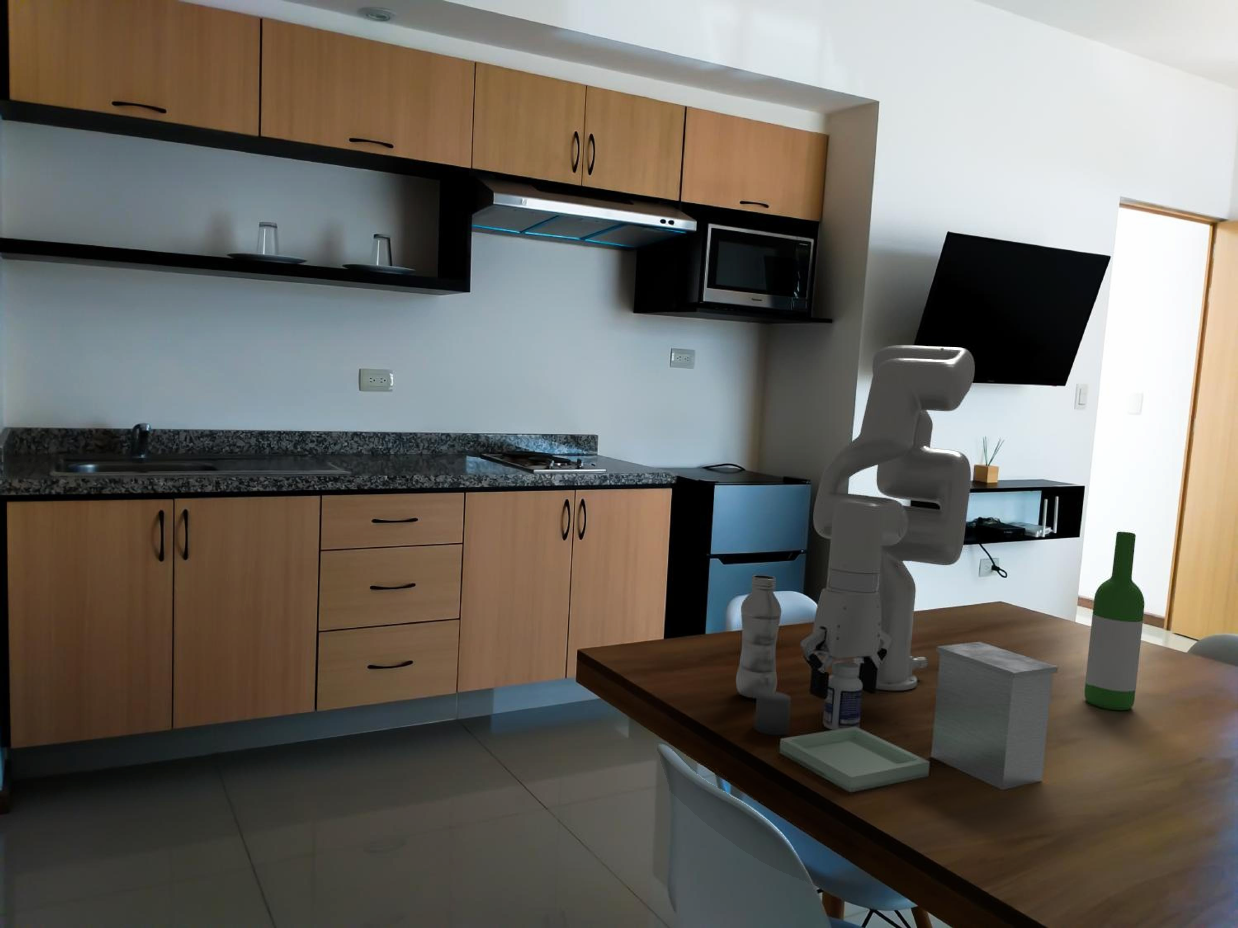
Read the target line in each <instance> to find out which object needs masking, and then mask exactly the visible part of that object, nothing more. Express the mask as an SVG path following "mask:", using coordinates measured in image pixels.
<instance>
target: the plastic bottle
mask: <svg viewBox="0 0 1238 928" xmlns="http://www.w3.org/2000/svg"><path fill="white" fill-rule="evenodd" d="M750 588H751V589H752V590H751V591H750V592H749V593H748V595H746V597H745V598H744V599H743V601H742V602H741V606H740V616H741V626H742V627H741V628H742V629H741V630H742V632H741V633H742V634H741V636H742V638H741V639H742V640H741V652H740V659H739V666H738V669H737V673H736V677H735V683H736V689H737V691H738V693H739V694H740V695H741V696H743V697H746V698H749V699H750V698H751V699H755V700H757V694H758V693H760V692H764V691H773V692H777V690H776V689H777V687H778V678H777V677H778V676H777V670H776V649H777V648H776V647H777V644H776V643H777V638H778V632H779V627H780V621H781V617H782V607H781V603H780V601H779V599H778V598H777V596H776V595H775V592H774V591H775V590H776V577H775V576H773V575H772V576H771V575H765V574H754V575H752V578H751V584H750Z"/></svg>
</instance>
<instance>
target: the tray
mask: <svg viewBox="0 0 1238 928" xmlns="http://www.w3.org/2000/svg"><path fill="white" fill-rule="evenodd" d="M779 754H781V755H783V756H784V757H787V758H788V759H790V760H791V761H793V762H795V763H797V764H799V765H801V766H802V767H804V768H806V769H807V770H809V771H811V772H813V773H814V774H816V775H818V776H820V777H822V778H824V779H825V780H827V781H829V782H831V783H833V784H834V785H835V786H837V787H839V788H841V789H843V790H845V791H847V792H849V793H855V792H859V791H865V790H870V789H875V788H877V787H883V786H889V785H892V784H893V785H894V784H898V783H903V782H907V781H908V782H909V781H911V780H918V779H921V778H922V779H923V778H926V777H929V772H930V763H931V761H929V760H927V759H925V758H923V757H921V756H918V755H917V754H914V753H912V752H910V751H908V750H906V749H903V748H902V747H900V746H897V745H895V744H893V743H890V742H889V741H887V740H885V739H884V738H883V739H882V738H880V737H878V736H876V735H874V734H872V733H870V732H868V731H866V730H863V728H862V729H861V728H860V727H859V728H857V727H850V728H844V729H838V730H826V731H821V732H814V733H808V734H802V735H797V736H790V737H784V738H780V742H779Z"/></svg>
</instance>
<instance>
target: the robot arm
mask: <svg viewBox="0 0 1238 928" xmlns="http://www.w3.org/2000/svg"><path fill="white" fill-rule="evenodd" d="M974 360H975V359H974V356H973V355H972V353H971V352H970V351H969V350H968V349H967V348H965V347H964V348H963V347H955V346H953V347H952V346H934V345H933V346H932V345H931V346H930V345H928V346H926V345H909V344H908V345H905V344H903V345H890V346H885V347H883V348H880V349H879V350H878V351H876V352H875V354H874V356H873V360H872V364H871V365H872V377H871V382H870V387H869V392H868V396H867V400H866V405H865V410H864V414H863V418H862V422H861V427H860V432H859V435H858V436H857V437H856V438H854V439H852V440H851V441H850V442H848V444H846V445H845V446H844V447H842V449H840V450H839V451H838V452H837V453H836V454H835V456H833V458H831V460H830V461H829V463H828V464H827V465H826V467H825V469H824V470H823V472H822V476H821V479H820V481H819V486H818V490H817V494H816V499H815V503H814V508H813V513H812V514H813V519H812V521H813V527H814V530H815V531H816V533H817V534H818V535H819V536H820V537H823V538H825V539H827V540H829V539H830V545H829V556H828V558H829V559H828V566H827V567H828V568H827V580H826V587H825V588H822V589H821V591H820V595H819V599H818V601H817V606H816V610H815V615H814V621H813V627H812V634H810V635H808V636H807V637H805V638H804V639H803V640H801V641H800V648H801V650H802V654H803V659H804V660H805V661H806V663H807V666H808V668H809V669H811V674H810V683H809V693H810V695H812V696H813V697H816V698H818V699H821V700H825V699H826V698H827V695H828V683H829V676H830V672H828V671H827V670H828V668H829V667H830V666H831V665H832V664H833V662H834V660H844V659H853V663H856V664H858V665H859V675H858V676H857V678H858V679H860V680H861V682H862V685H863V686H862V692H866V693H867V694H870V695H874V694H876V692H877V690H882V691H907V690H910V689H915V687H916V686H917V684H918V679H917V677H916V675H914V674H913V671H915V670H916V669H922V668H926V667H927V666H928V660H927V658H926V657H924V656H918V657H914V656H912V655H911V647H912V639H913V638H912V636H913V627H914V614H915V613H914V612H915V603H916V602H915V601H916V592H917V588H916V582H915V579H914V577H913V576H912V573H911V572H910V571H909V569H908V567H907V566H906V565H905V563H904V562H912V563H913V562H914V563H920V564H921V563H922V564H930V565H937V566H938V565H939V566H951V565H953V564H956V563H957V561H959V559H960V557H961V555H962V553H963V547H964V541H965V535H966V524H967V516H968V510H969V509H968V508H969V502H970V501H969V499H970V493H971V483H972V480H971V479H972V470H971V469H972V468H971V464H970V461H969V459H968V456H966V455H965V454H964V453H962V452H961V451H959V450H958V451H957V450H953V449H943V448H936V447H935V448H934V447H933V448H932V447H931V442H932V433H933V430H934V427H933V425H934V424H933V420H932V418H931V415H930V414H929V412H928V411H935V412H936V411H937V412H952V411H954V410H955V411H956V409H958V408H959V407H960V405H961V404H962V402H963V401H964V399H965V397H966V396H967V394H968V392H969V391H970V389H971V387H972V385H973V381H974V378H975V367H976V365H975V361H974ZM875 466H877V468H876V486H877V489H878V491H879V493H881V495H884V496H886V497H882V496H881V497H880V496H872V495H871V496H870V495H865V494H854V493H845V492H840V491H841V489H842V487H843V485H844V484H845V483H846V481H848V480H849V479H850V478H851V477H852V476H853V475H855V474H858V473H860V472H861V471H864V470H866V469H870V468H872V467H875ZM896 499H900V500H906V501H907V500H909V501H917V502H927V503H935V504H937V505H938V506H939V509H935V508H928V507H927V508H926V507H919V506H918V507H916V506H912V505H903V504H902V502H899V501H898V500H896ZM822 659H823V660H822Z"/></svg>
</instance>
